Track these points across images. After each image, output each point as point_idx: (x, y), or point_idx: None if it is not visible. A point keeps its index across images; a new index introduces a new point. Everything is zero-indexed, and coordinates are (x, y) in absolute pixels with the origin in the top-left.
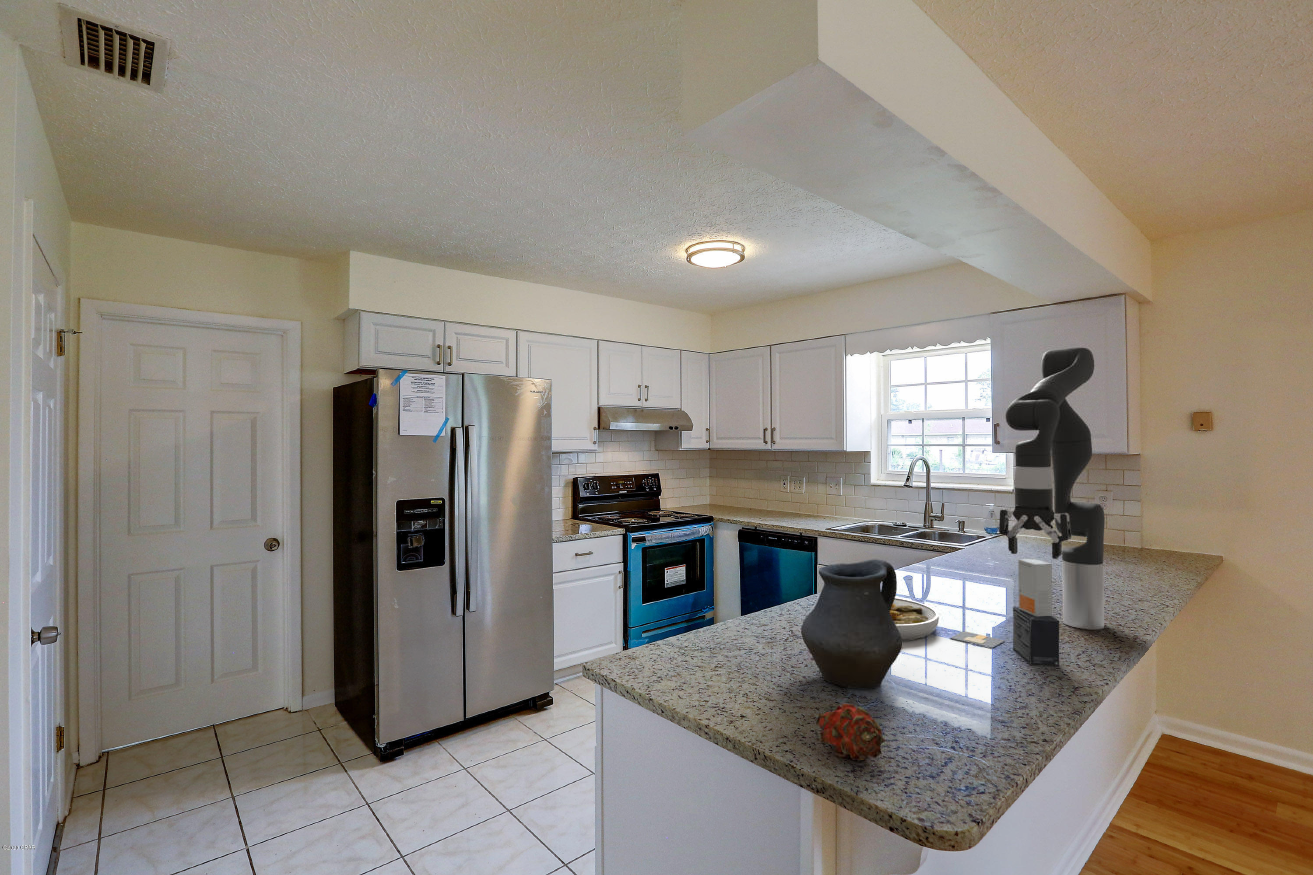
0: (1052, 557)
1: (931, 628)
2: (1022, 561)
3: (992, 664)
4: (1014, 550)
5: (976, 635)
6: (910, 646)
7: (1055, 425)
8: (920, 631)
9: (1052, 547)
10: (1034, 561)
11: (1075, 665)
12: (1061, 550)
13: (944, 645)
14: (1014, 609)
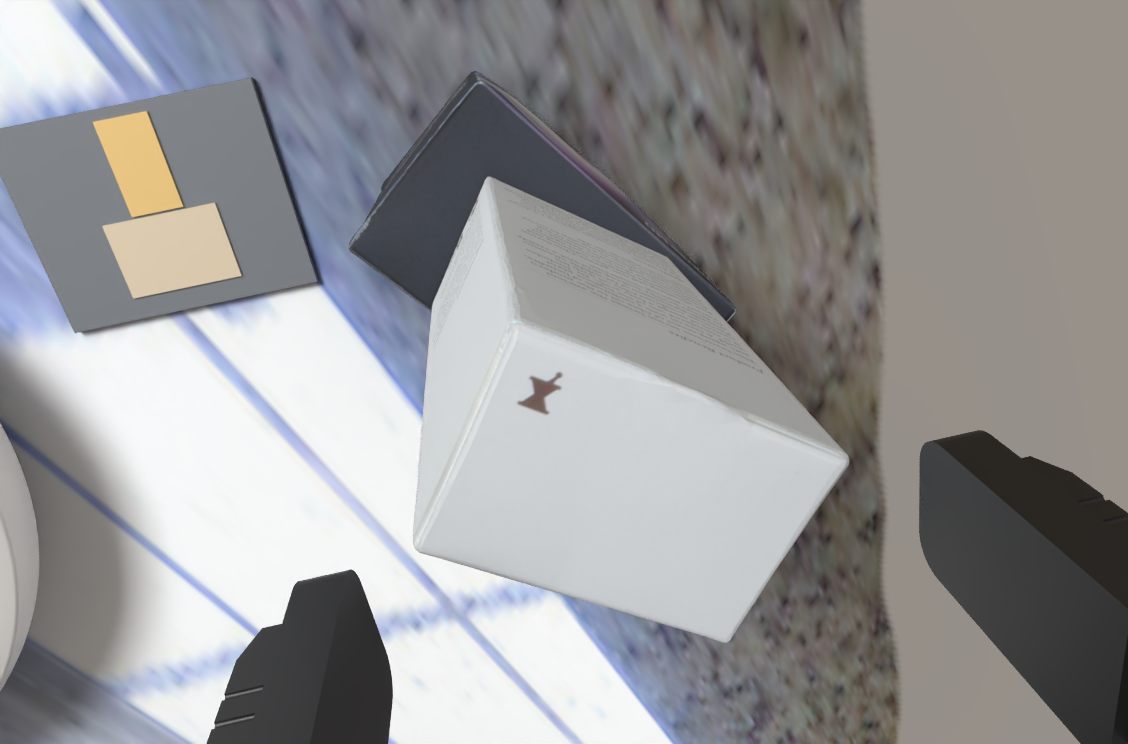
0: (934, 568)
1: (7, 452)
2: (502, 574)
3: None
4: (385, 712)
5: (96, 148)
6: (109, 596)
7: None
8: (36, 542)
9: (1041, 686)
10: (634, 511)
11: (701, 149)
12: (1115, 512)
13: (163, 449)
14: (380, 273)
